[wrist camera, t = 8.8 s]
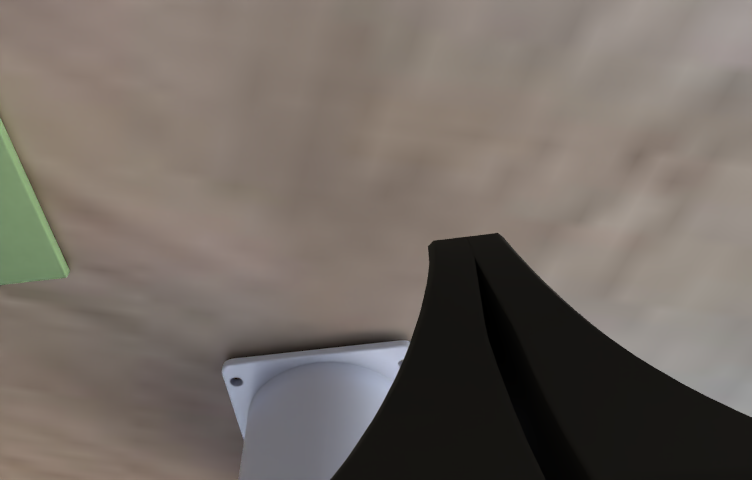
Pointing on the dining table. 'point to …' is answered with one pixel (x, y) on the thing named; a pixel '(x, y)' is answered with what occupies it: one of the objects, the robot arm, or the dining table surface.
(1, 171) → the mat
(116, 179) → the dining table surface
